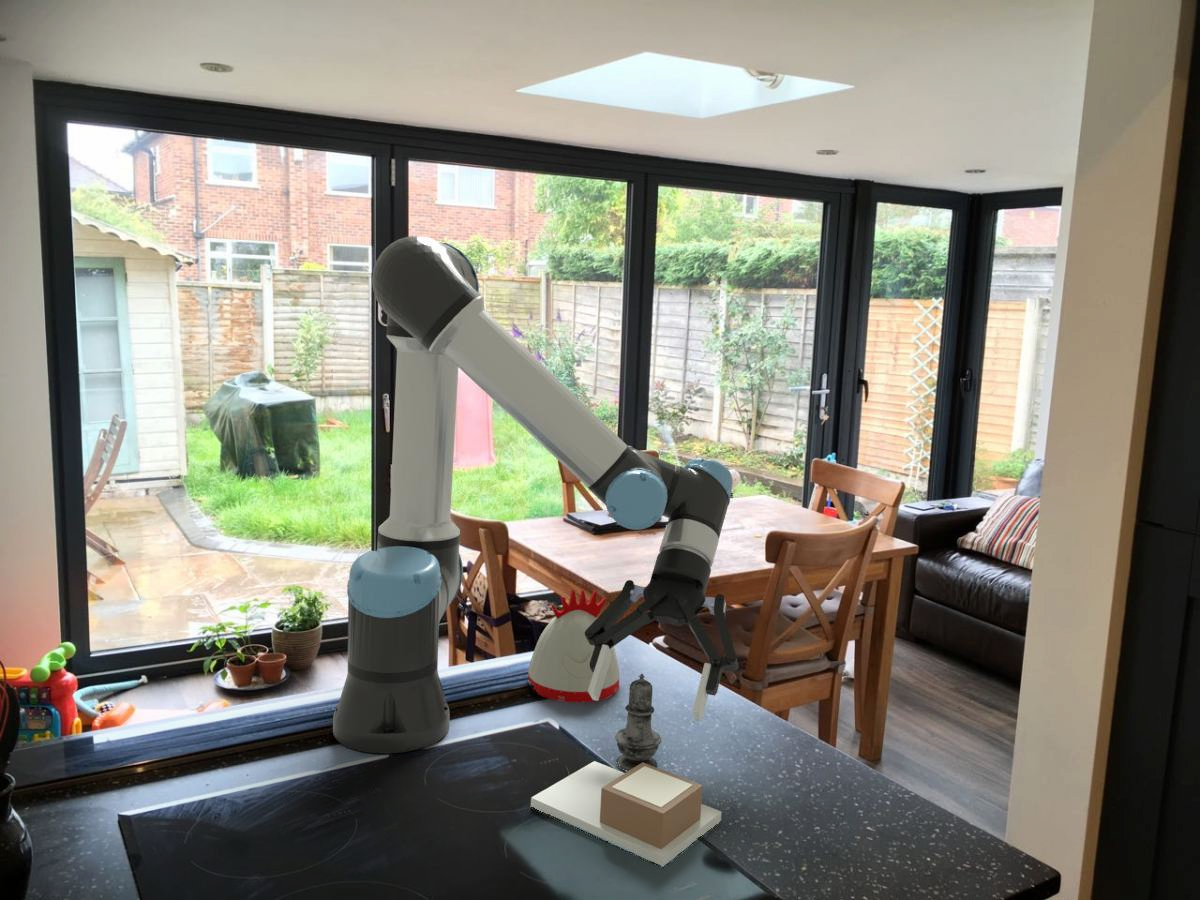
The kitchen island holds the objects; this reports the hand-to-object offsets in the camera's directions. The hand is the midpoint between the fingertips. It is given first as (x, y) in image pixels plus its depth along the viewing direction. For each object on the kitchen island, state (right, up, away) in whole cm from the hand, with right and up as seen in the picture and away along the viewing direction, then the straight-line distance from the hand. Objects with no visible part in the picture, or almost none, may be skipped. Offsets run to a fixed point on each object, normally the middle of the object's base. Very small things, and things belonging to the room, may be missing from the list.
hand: (643, 706), depth 118 cm
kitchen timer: (-9, -4, +27) cm, 29 cm away
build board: (-3, -10, -10) cm, 14 cm away
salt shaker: (-1, -8, +3) cm, 9 cm away
